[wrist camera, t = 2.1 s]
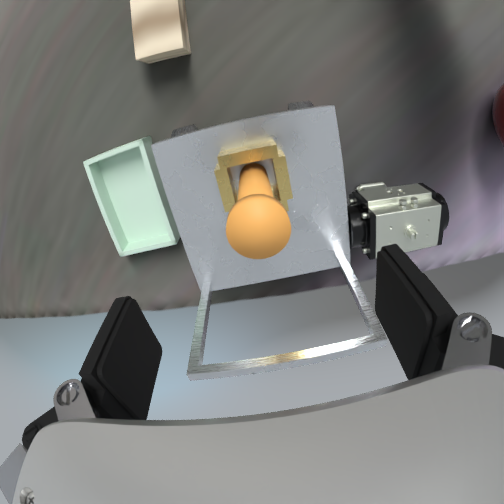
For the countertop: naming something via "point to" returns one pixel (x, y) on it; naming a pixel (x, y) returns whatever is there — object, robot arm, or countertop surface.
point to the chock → (159, 29)
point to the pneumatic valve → (396, 217)
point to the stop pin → (257, 217)
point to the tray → (132, 198)
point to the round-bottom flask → (499, 113)
